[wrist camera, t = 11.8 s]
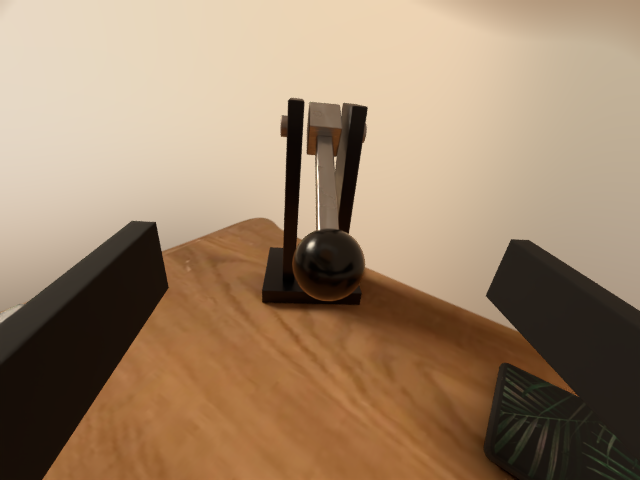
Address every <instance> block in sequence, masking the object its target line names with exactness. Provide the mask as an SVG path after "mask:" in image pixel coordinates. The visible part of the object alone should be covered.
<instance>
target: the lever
mask: <svg viewBox="0 0 640 480" xmlns="http://www.w3.org/2000/svg"><path fill="white" fill-rule="evenodd" d="M341 132H342V121H341V111H340V105H337V104H326V103H316V102H310V103H309V113H308V125H307V154H308V155H315V156H316V157H315V161H316V162H315V164H316V231H314V232H312V233H310V234H308V235H307V236H306V237H305V238H303V239H302V241H301V242H300V243H299V244H298V246H297V248H296V250H295V252H294V256H293V262H292V266H293V274H294V277H295V279H296V281H297V283H298V285H299V286H300V287H301V289H302V290H303V291H304V292H305V293H307V294H308V295H309V296H311V297H313V298H315V299H318V300H322V301H335V300H339V299H342V298H345V297H347V296H348V295H350V294H351V293H352V292H353V291H354V290H355V289H356V288H357V287H358V286H359V284H360V282H361V280H362V278H363V275H364V271H365V259H364V254H363V251H362V249H361V248H360V245H359V244H358V243H357V241H356V240H355V239H354V238H353V237H352V236H350V235H349V234H347V233H346V232H344V231H341V230H339V226H338V211H337V197H336V182H335V167H334V157H336V156H337V153H338V147H339V142H340V137H341Z"/></svg>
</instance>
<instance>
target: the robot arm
mask: <svg viewBox="0 0 640 480" xmlns="http://www.w3.org/2000/svg"><path fill="white" fill-rule="evenodd" d="M168 288H169V287H168V282H167V277H166V272H165V267H164V262H163V257H162V251H161V247H160V241H159V236H158V231H157V226H156V222H142V221H131V222H130V223H129V224H127V225H126V226H125V227H124V228H122V229H121V230H120V231H118V232H117V233H116V234H115V235H113V236H112V237H111V238H109V239H108V240H107V241H106V242H104V243H103V244H102V245H100V246H99V247H98V248H97V249H95V250H94V251H93V252H91V253H90V254H89V255H88V256H86V257H85V258H84V259H82V260H81V261H80V262H79V263H77V264H76V265H75V266H73V267H72V268H71V269H70V270H68V271H67V272H66V273H65V274H63V275H62V276H61V277H59V278H58V279H57V280H56V281H54V282H53V283H52V284H50V285H49V286H48V287H47V288H45V289H44V290H43V291H41V292H40V293H39V294H38V295H36V296H35V297H34V298H32V299H31V300H30V301H29V302H27V303H26V304H18V305H16V306H14V307H12V308H10V309H8V310H6V311H4V312H2V313H0V480H42V479H43V478H44V476H45V475H46V473H47V472H48V470H49V468H50V467H51V465H52V464H53V462H54V461H55V459H56V458H57V456H58V455H59V453H60V452H61V450H62V449H63V447H64V446H65V444H66V443H67V441H68V440H69V438H70V437H71V435H72V434H73V432H74V431H75V429H76V427H77V426H78V424H79V423H80V421H81V420H82V418H83V417H84V415H85V414H86V412H87V411H88V409H89V408H90V406H91V405H92V403H93V402H94V400H95V399H96V397H97V396H98V394H99V393H100V391H101V390H102V388H103V386H104V385H105V383H106V382H107V380H108V379H109V377H110V376H111V374H112V373H113V371H114V370H115V368H116V367H117V365H118V364H119V362H120V361H121V359H122V358H123V356H124V355H125V353H126V352H127V350H128V349H129V347H130V345H131V344H132V342H133V341H134V339H135V338H136V336H137V335H138V333H139V332H140V330H141V329H142V327H143V326H144V324H145V323H146V321H147V320H148V318H149V317H150V315H151V314H152V312H153V311H154V309H155V307H156V306H157V304H158V303H159V301H160V300H161V298H162V297H163V295H164V294H165V292H166V291H167V289H168ZM486 296H487V298H488V299H489V300H490V301H491V302H492V303H493V304H494V305H495V306H496V307H497V308H498V310H499V311H500V312H501V313H502V314H503V315H504V316H505V317H506V318H507V319H508V320H509V321H510V323H511V324H512V325H513V326H514V327H515V328H516V329H517V330H518V331H519V332H520V333H521V334H522V336H523V337H524V338H525V339H526V340H527V341H528V342H529V343H530V344H531V345H532V346H533V347H534V349H535V350H536V351H537V352H538V353H539V354H540V355H541V356H542V357H543V358H544V359H545V360H546V362H547V363H548V364H549V365H550V366H551V367H552V368H553V369H554V370H555V371H556V372H557V373H558V375H559V376H560V377H561V378H562V379H563V380H564V381H565V382H566V383H567V384H568V385H569V386H570V387H571V389H572V390H573V391H574V392H575V393H576V394H577V395H578V396H579V397H580V398H581V399H582V400H583V402H584V403H585V404H586V405H587V406H588V407H589V408H590V409H591V410H592V411H593V412H594V413H595V415H596V416H597V417H598V418H599V419H600V420H601V421H602V422H603V423H604V424H605V425H606V426H607V428H608V429H609V430H610V431H611V432H612V433H613V434H614V435H615V436H616V437H617V438H618V439H619V441H620V442H621V443H622V444H623V445H624V446H625V447H626V448H627V449H628V450H629V451H630V452H631V454H632V455H633V456H634V457H635V458H636V459H637V460H638V461H639V462H640V311H639V310H637V309H636V308H634V307H633V306H631V305H630V304H628V303H626V302H625V301H623V300H622V299H620V298H618V297H617V296H615V295H614V294H612V293H611V292H609V291H608V290H606V289H604V288H603V287H601V286H600V285H598V284H597V283H595V282H594V281H592V280H591V279H589V278H587V277H586V276H584V275H583V274H581V273H580V272H578V271H576V270H575V269H573V268H572V267H570V266H569V265H567V264H566V263H564V262H562V261H561V260H559V259H558V258H556V257H555V256H553V255H551V254H550V253H548V252H547V251H545V250H543V249H542V248H540V247H539V246H537V245H536V244H534V243H533V242H531V241H529V240H514V239H513V240H512V239H511V241H510V243H509V246H508V247H507V250H506V252H505V254H504V256H503V259H502V261H501V263H500V265H499V267H498V270H497V272H496V274H495V276H494V279H493V281H492V283H491V285H490V288H489V290H488V292H487V295H486Z"/></svg>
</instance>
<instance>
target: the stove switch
mask: <svg viewBox="0 0 640 480" xmlns="http://www.w3.org/2000/svg"><path fill="white" fill-rule="evenodd" d="M367 109H368V108H367V107H366V106H361V105H357V104H349V103H343V107H342V116H341V121H342V132H341V137H340V142H339V147H338V153H337V160H336V169H335V182H336V197H337V211H338V226H339V230H341V231H344V232H346V233H347V234H349V229H350V222H351V215H352V209H353V202H354V196H355V189H356V182H357V175H358V169H359V162H360V155H361V149H362V143H364V141H365V137H366V130H367V129H366V123H365V122H366V116H367ZM303 118H304V100H303V99H297V98H290V99H289V100H288V116H284V115H282V116H281V137H287V152H286V155H287V156H286V182H285V213H284V244H283V248H273V247H270V251H269V256H268V262H267V267H266V273H265V278H264V284H263V289H262V302H273V303H314V304H356V305H359V304H360V300H361V295H362V293H361V290H360V286H358V287H357V288H356V289H355V290H354V291H353V292H352V293H351V294H350V295H348V296H347V297H345V298H342V299H339V300H335V301H322V300H318V299H315V298H313V297H311V296H309V295H308V294H307V293H305V292H304V291H303V290H302V289H301V287H300V286H299V285H298V283H297V281H296V279H295V277H294V274H293V266H292V262H293V256H294V252H295V250H296V242H297V225H298V206H299V189H300V171H301V154H302V135H303Z"/></svg>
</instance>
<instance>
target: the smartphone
mask: <svg viewBox="0 0 640 480" xmlns="http://www.w3.org/2000/svg"><path fill="white" fill-rule="evenodd" d="M484 452H485V455H486V456H487V458H488V459H489V460H491V461H492V462H494V463H495V464H497V465H498V466H500V467H501V468H503V469H504V470H506V471H507V472H509V473H510V474H512V475H513V476H515V477H517V478H518V479H520V480H640V462H639V461H638V460H637V459H636V458H635V457H634V456H633V455H632V454H631V452H630V451H629V450H628V449H627V448H626V447H625V446H624V445H623V444H622V443H621V442H620V441H619V439H618V438H617V437H616V436H615V435H614V434H613V433H612V432H611V431H610V430H609V429H608V428H607V426H606V425H605V424H604V423H603V422H602V421H601V420H600V419H599V418H598V417H597V416H596V415H595V413H594V412H593V411H592V410H591V409H590V408H589V407H588V406H587V405H586V404H585V403H584V402H583V400H582V399H581V398H580V397H578V396H576V395H574V394H572V393H569V392H567V391H565V390H563V389H561V388H559V387H557V386H555V385H553V384H551V383H549V382H546V381H544V380H542V379H540V378H538V377H536V376H534V375H532V374H530V373H528V372H526V371H523V370H521V369H519V368H517V367H515V366H513V365H511V364H509V363H502V364H501V365H500V367H499V372H498V377H497V382H496V387H495V392H494V398H493V403H492V408H491V413H490V418H489V423H488V428H487V433H486V438H485V443H484Z"/></svg>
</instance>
